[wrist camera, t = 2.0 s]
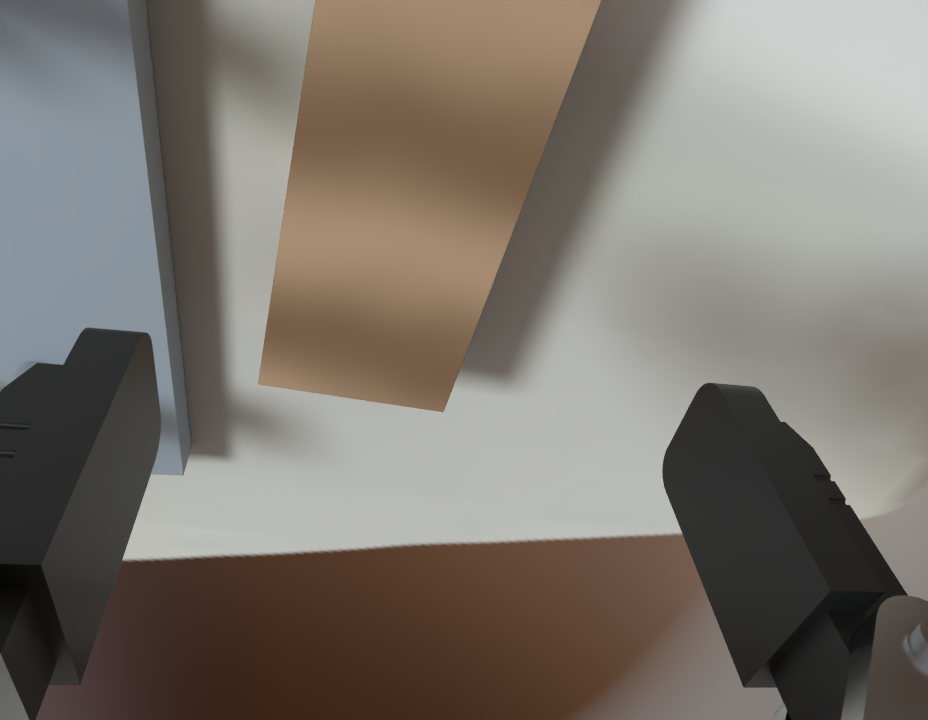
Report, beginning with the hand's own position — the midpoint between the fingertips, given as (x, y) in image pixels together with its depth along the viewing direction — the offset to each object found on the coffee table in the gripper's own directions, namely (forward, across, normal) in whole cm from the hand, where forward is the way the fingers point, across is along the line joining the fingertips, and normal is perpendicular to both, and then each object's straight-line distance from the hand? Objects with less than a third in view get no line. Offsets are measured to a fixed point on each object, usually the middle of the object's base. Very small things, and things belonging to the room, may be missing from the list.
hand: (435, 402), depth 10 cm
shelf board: (+13, 0, 0) cm, 13 cm away
